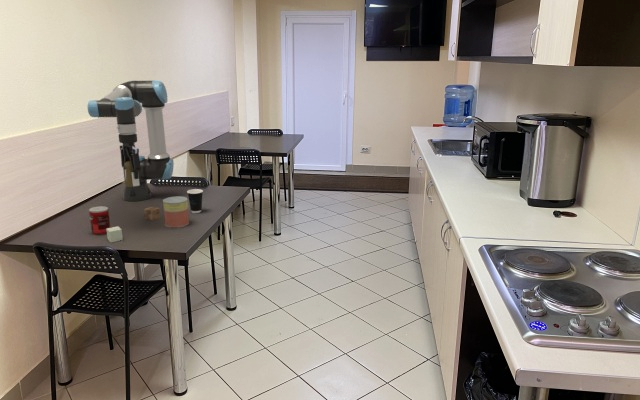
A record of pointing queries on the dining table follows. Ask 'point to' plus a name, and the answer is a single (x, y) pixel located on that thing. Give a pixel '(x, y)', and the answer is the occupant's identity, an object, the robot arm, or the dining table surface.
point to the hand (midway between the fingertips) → (132, 184)
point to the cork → (129, 174)
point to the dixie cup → (195, 200)
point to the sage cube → (114, 234)
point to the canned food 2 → (176, 211)
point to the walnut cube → (152, 213)
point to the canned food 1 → (99, 219)
